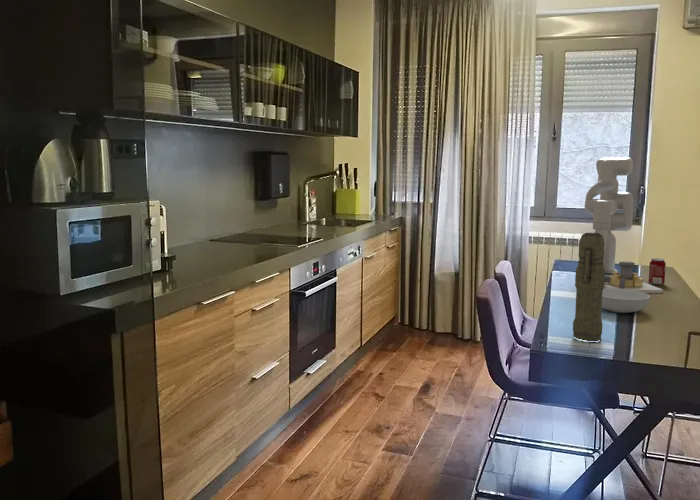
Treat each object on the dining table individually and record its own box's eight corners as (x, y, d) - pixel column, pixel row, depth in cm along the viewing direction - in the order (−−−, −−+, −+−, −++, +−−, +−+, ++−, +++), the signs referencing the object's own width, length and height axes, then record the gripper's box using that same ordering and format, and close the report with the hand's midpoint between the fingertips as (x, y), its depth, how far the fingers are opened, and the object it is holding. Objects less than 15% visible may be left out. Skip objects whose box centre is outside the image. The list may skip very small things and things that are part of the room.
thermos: (603, 336, 197) (608, 232, 192) (599, 345, 187) (605, 236, 182) (574, 332, 201) (579, 231, 196) (570, 342, 191) (575, 234, 186)
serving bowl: (615, 319, 219) (616, 300, 218) (579, 306, 239) (580, 289, 238) (661, 314, 224) (662, 297, 223) (622, 302, 244) (623, 286, 243)
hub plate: (591, 282, 285) (592, 258, 283) (636, 282, 285) (637, 258, 283) (613, 293, 261) (614, 267, 259) (662, 293, 261) (664, 267, 259)
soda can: (662, 286, 275) (664, 261, 274) (647, 284, 279) (648, 259, 278) (665, 283, 281) (667, 259, 279) (649, 282, 285) (651, 257, 283)
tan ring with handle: (640, 281, 277) (640, 272, 276) (643, 287, 264) (644, 277, 264) (584, 279, 285) (584, 269, 284) (585, 284, 272) (585, 274, 272)
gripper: (594, 224, 286) (592, 262, 288) (591, 227, 273) (589, 266, 275) (611, 225, 283) (608, 263, 285) (609, 227, 269) (606, 267, 271)
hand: (599, 264), depth 280 cm, fingers closed
